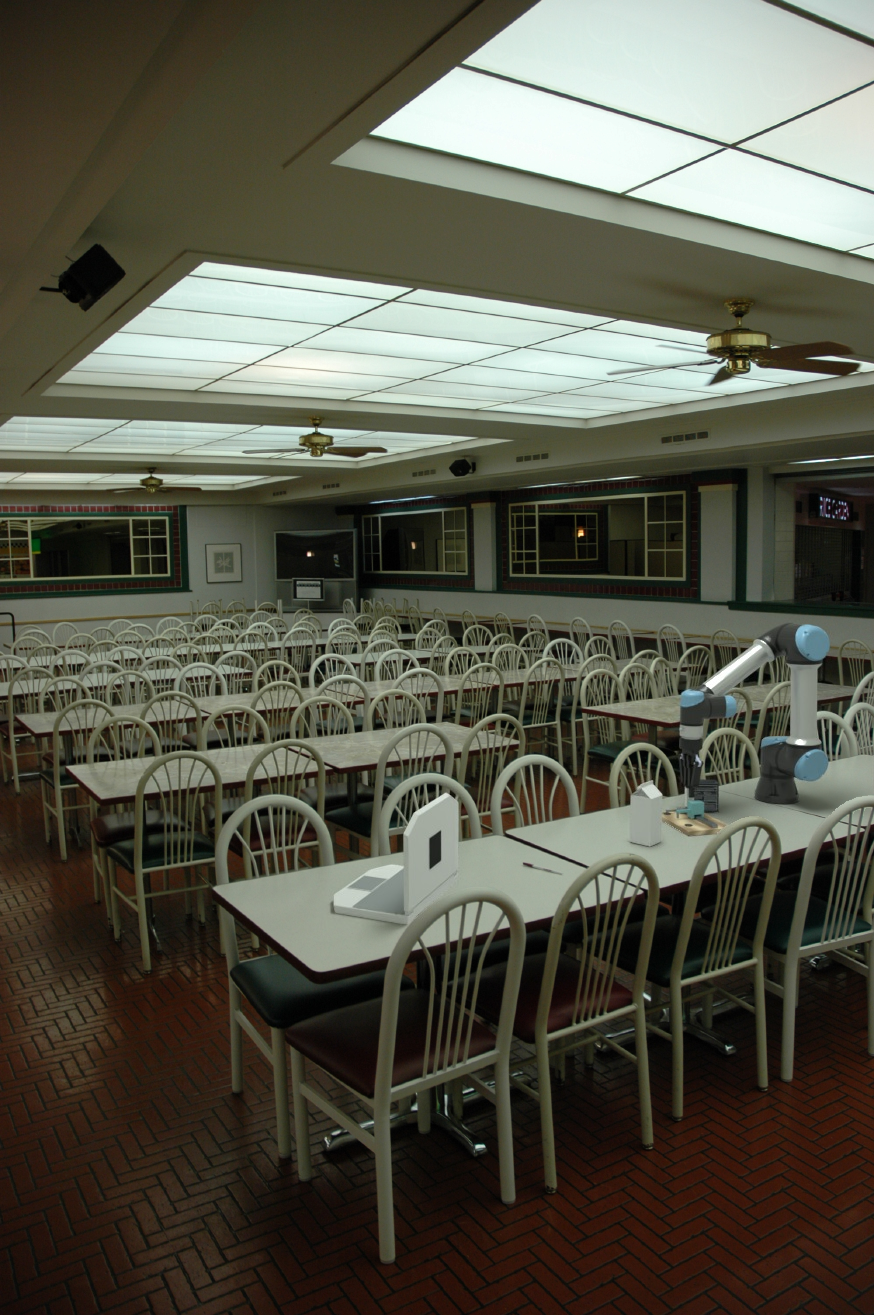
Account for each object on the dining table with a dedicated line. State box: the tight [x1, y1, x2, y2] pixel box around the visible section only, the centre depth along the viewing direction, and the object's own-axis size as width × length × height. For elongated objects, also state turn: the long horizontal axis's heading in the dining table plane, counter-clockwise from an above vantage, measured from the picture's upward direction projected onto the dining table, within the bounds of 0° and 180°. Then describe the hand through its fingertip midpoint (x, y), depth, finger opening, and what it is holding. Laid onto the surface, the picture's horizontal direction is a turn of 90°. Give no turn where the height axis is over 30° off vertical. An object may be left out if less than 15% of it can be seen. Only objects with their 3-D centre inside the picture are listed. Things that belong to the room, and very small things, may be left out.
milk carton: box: [629, 780, 663, 847], centre depth 287 cm, size 7×7×19 cm
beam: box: [665, 806, 718, 828], centre depth 306 cm, size 9×20×1 cm, turn 15°
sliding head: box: [676, 800, 705, 819], centre depth 308 cm, size 9×3×5 cm, turn 105°
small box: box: [684, 778, 720, 813], centre depth 323 cm, size 11×6×10 cm, turn 84°
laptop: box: [332, 792, 460, 926], centre depth 242 cm, size 33×24×26 cm
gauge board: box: [662, 811, 728, 836], centre depth 306 cm, size 16×22×2 cm
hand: (689, 806), depth 312 cm, fingers closed
